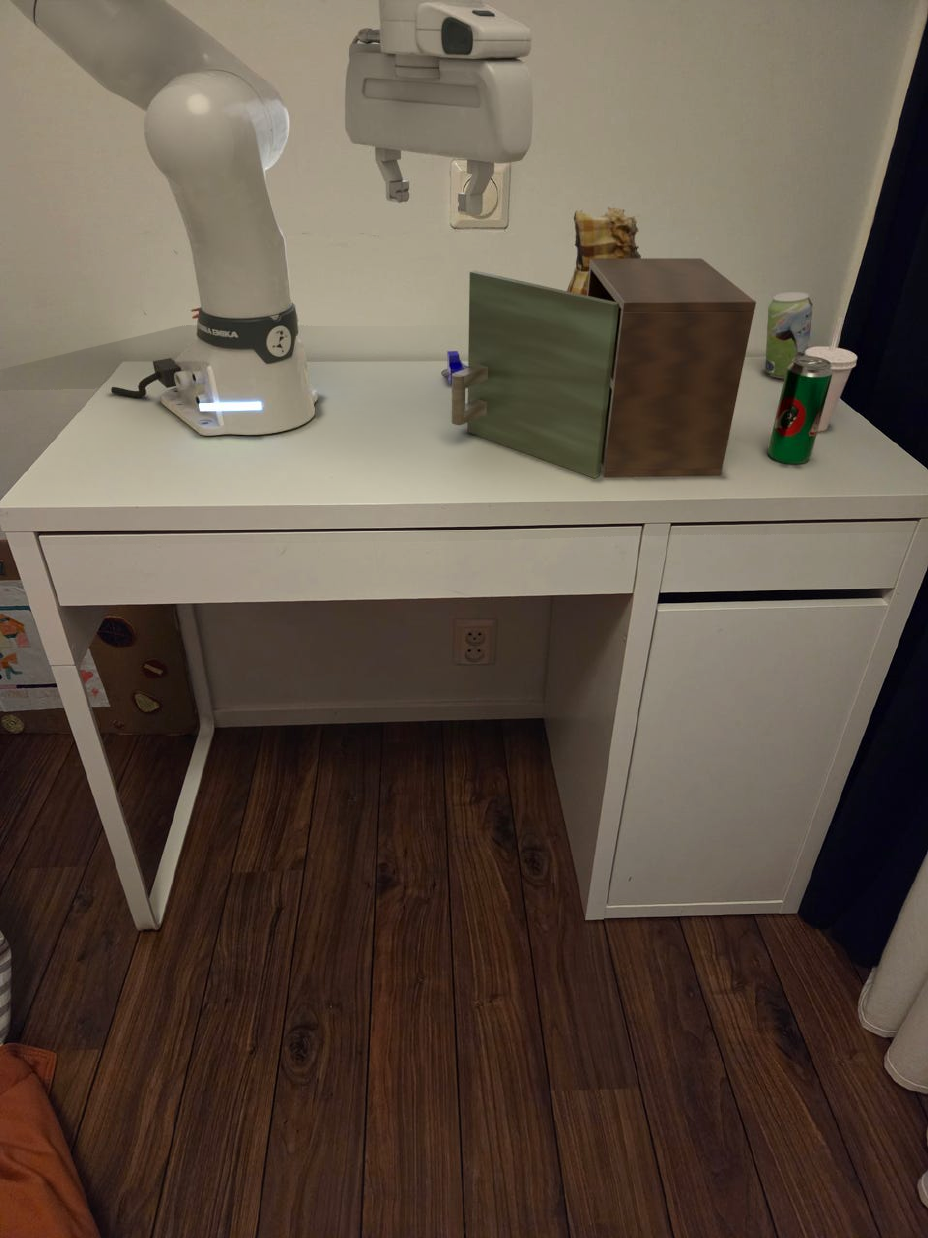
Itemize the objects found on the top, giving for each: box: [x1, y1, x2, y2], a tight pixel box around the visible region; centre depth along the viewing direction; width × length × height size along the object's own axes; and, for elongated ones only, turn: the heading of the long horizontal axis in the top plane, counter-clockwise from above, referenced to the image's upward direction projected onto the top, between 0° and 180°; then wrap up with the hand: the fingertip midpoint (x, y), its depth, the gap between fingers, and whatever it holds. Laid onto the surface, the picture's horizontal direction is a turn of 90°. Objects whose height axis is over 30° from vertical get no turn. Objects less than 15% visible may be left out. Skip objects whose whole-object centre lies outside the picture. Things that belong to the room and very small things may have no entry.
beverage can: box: [764, 291, 813, 380], centre depth 126 cm, size 6×7×12 cm
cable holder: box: [446, 350, 468, 387], centre depth 125 cm, size 8×4×4 cm, turn 99°
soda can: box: [767, 356, 833, 466], centre depth 101 cm, size 5×5×12 cm
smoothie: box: [804, 316, 858, 433], centre depth 109 cm, size 6×6×14 cm
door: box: [451, 270, 619, 479], centre depth 97 cm, size 6×20×20 cm, turn 48°
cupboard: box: [587, 257, 757, 479], centre depth 102 cm, size 14×20×20 cm
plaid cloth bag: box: [566, 206, 642, 296], centre depth 119 cm, size 14×14×25 cm
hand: (432, 207), depth 80 cm, fingers open, 8 cm apart
